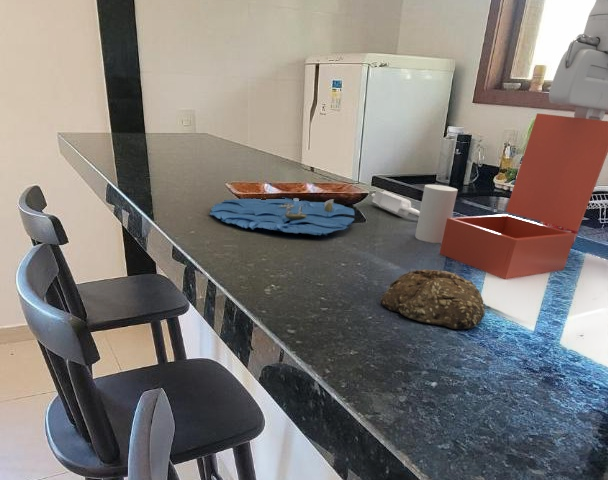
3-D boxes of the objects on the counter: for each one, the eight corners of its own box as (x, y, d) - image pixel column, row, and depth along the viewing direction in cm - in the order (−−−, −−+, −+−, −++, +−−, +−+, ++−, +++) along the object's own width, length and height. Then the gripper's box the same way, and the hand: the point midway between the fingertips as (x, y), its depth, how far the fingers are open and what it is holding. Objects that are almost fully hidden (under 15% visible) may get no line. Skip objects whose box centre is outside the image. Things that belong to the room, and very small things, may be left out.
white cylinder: (429, 237, 103) (440, 184, 98) (451, 245, 99) (464, 190, 94) (407, 239, 100) (418, 184, 95) (430, 248, 96) (442, 191, 91)
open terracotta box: (504, 284, 80) (516, 239, 77) (438, 258, 90) (447, 217, 87) (562, 274, 89) (575, 234, 85) (496, 251, 98) (506, 214, 95)
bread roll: (478, 301, 72) (488, 265, 70) (485, 336, 61) (497, 295, 59) (385, 285, 74) (391, 250, 72) (376, 316, 63) (383, 277, 61)
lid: (616, 122, 78) (619, 122, 79) (536, 113, 88) (539, 114, 89) (575, 231, 85) (578, 231, 86) (505, 211, 95) (508, 211, 95)
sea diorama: (238, 249, 87) (238, 217, 85) (194, 206, 111) (193, 180, 108) (390, 239, 98) (394, 211, 96) (321, 202, 122) (323, 178, 119)
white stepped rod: (435, 229, 117) (442, 212, 116) (407, 220, 113) (414, 202, 112) (388, 208, 133) (394, 193, 132) (362, 199, 129) (367, 184, 128)
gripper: (595, 31, 73) (562, 139, 79) (664, 51, 84) (630, 144, 90) (555, 31, 77) (526, 134, 84) (625, 50, 88) (595, 139, 95)
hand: (581, 139), depth 87 cm, fingers closed
